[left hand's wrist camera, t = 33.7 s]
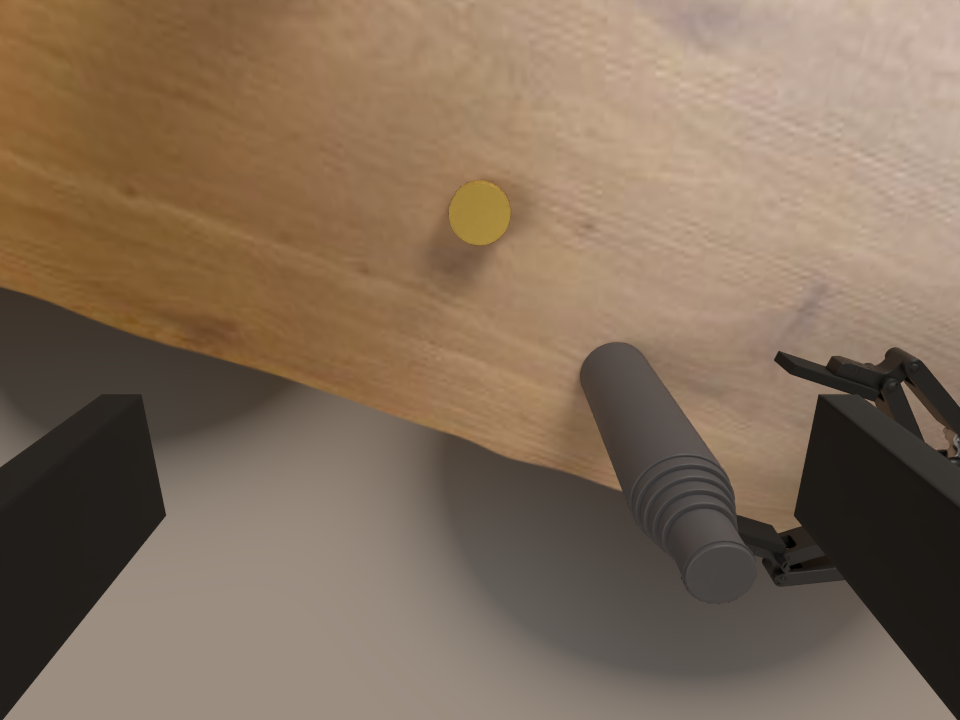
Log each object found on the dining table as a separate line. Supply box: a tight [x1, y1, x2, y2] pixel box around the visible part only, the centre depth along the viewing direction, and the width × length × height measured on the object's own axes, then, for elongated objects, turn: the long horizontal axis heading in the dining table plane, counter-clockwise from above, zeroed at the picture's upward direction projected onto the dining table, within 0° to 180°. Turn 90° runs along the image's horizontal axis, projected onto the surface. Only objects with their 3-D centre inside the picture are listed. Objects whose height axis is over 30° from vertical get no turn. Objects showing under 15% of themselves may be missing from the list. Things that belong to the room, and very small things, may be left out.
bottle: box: [580, 343, 757, 604], centre depth 41 cm, size 6×6×25 cm
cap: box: [448, 180, 511, 245], centre depth 47 cm, size 5×5×2 cm
